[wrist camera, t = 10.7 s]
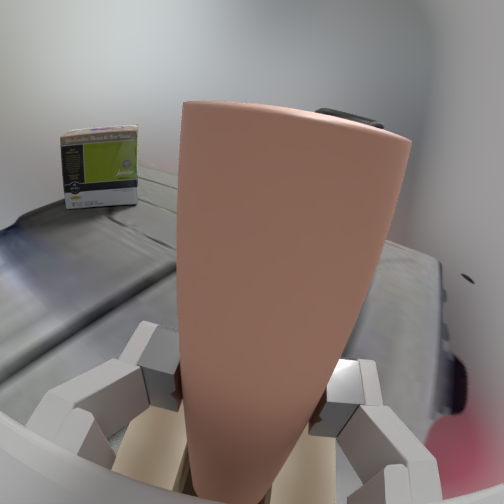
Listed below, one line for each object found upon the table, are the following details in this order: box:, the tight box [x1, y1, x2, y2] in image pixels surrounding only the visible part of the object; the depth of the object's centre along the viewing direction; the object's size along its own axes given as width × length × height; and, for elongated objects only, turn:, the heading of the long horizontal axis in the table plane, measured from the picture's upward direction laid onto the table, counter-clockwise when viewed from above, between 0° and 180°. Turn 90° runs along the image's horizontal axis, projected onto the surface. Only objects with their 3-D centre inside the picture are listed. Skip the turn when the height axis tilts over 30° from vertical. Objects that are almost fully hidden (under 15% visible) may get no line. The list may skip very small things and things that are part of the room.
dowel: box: [177, 101, 412, 504], centre depth 8 cm, size 4×4×15 cm
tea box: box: [60, 125, 138, 209], centre depth 55 cm, size 15×10×15 cm, turn 109°
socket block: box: [111, 400, 336, 504], centre depth 14 cm, size 12×12×6 cm
